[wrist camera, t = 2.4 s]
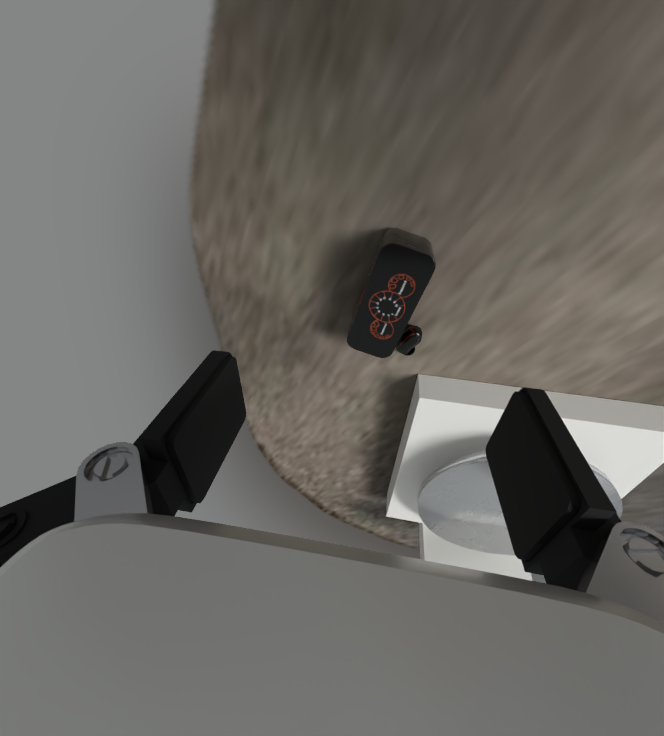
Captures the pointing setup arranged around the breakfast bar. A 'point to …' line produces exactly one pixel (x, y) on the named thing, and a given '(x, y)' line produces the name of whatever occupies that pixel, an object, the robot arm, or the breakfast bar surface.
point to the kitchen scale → (472, 473)
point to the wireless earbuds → (392, 295)
